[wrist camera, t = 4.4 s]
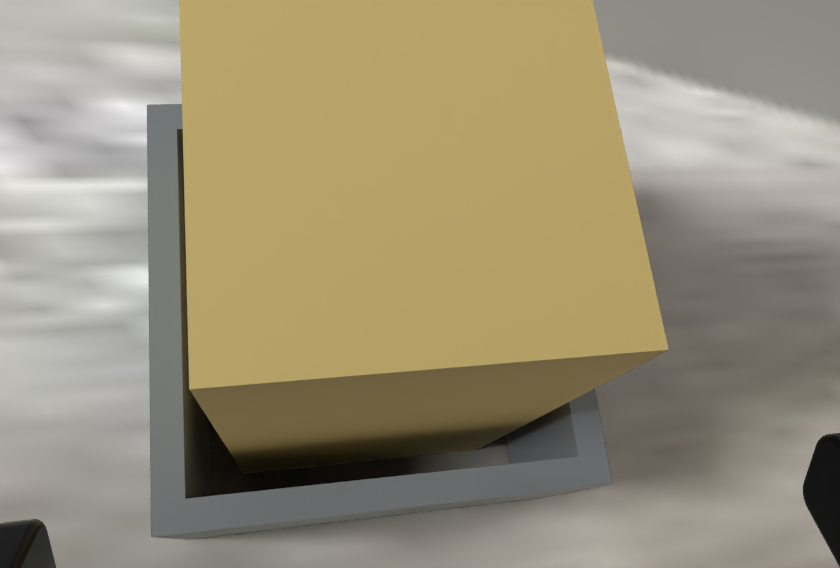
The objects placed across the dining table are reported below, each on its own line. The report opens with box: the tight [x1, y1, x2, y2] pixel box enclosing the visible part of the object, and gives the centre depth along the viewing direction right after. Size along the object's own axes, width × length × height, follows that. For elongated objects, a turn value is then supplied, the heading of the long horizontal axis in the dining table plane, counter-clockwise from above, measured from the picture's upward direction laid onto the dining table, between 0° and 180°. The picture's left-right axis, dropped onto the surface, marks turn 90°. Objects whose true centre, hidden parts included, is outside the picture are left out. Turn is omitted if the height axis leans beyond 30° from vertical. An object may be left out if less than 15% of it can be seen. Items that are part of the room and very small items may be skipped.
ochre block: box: [179, 0, 669, 474], centre depth 16 cm, size 6×6×11 cm
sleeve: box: [147, 104, 612, 539], centre depth 18 cm, size 9×9×5 cm
